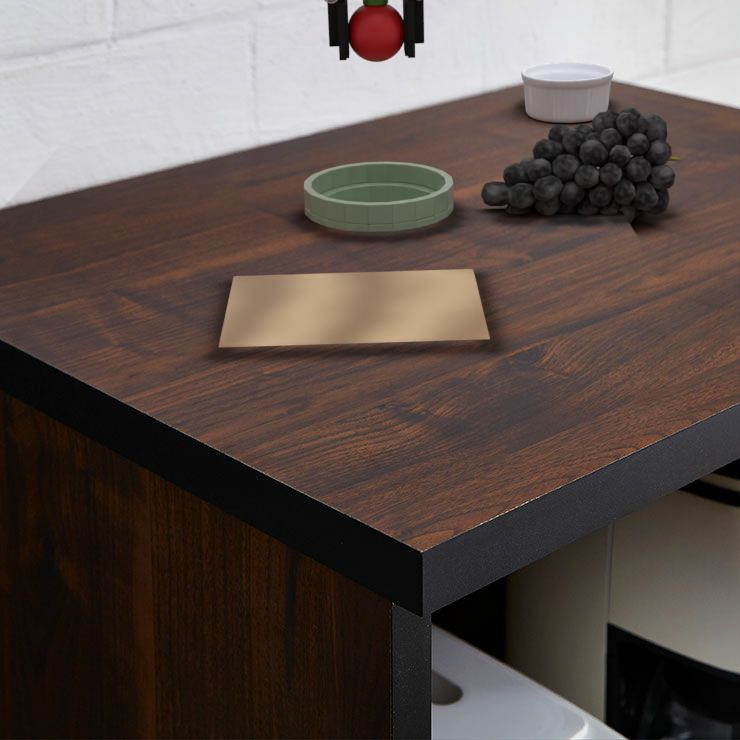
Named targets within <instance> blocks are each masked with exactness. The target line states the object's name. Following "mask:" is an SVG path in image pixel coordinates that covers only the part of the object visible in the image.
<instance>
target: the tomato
mask: <svg viewBox="0 0 740 740" xmlns="http://www.w3.org/2000/svg"><path fill="white" fill-rule="evenodd" d="M348 34H349V47H350V48H351V50H352V51H353V52H354V53H355V54H356V55H357V56H358V57H359V58H361V59H362V60H365V61H368V62H372V63H381V62H385V61H388V60H390V59H392V58H393V57H394V56H396V55H397V54H398V53H399V51H400V50H401V49H402V47H403V46H404V38H405V36H404V21H403V16H402V15H401V13H400V12H399V11H398V10H397V9H396V8H395V7H393V5H391V4H389V0H362V5H361V6H359V7H357V8H356V9H355V10H354V12H353V13H352V15H350V17H349V19H348Z"/></svg>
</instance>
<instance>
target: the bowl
mask: <svg viewBox="0 0 740 740" xmlns="http://www.w3.org/2000/svg"><path fill="white" fill-rule="evenodd" d="M454 184H455V183H454V180H453V176H452V175H450V174H448V173H447V172H446V171H444V170H442V169H439V168H436V167H433V166H430V165H425V164H417V163H414V162H402V161H401V162H400V161H365V162H356V163H349V164H347V163H346V164H342V165H337V166H333V167H329V168H325V169H322V170H320V171H318V172H315V173H313V174H311V175H310V176H309V177H308V178H306V179H305V180H304V182H303V203H304V204H303V206H304V215H305V216H306V217H307V218H308V219H309V220H310V221H311V222H313V223H316V224H317V225H318V224H319V225H321V226H323V227H326V228H331V229H337V230H341V231H350V232H361V233H383V232H388V233H389V232H397V231H407V230H412V229H418V228H423V227H425V226H429V225H433V224H434V225H435V224H436V223H438V222H441V221H443V220H444V219H447V218H448V217H449V216H450V215H451V214H452V212H453V211H454V205H455V204H454V201H455V200H454V199H455V195H454V193H455V192H454V188H455V187H454Z"/></svg>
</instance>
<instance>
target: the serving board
mask: <svg viewBox="0 0 740 740" xmlns="http://www.w3.org/2000/svg"><path fill="white" fill-rule="evenodd" d="M487 324H488V323H487V320H486V315H485V311H484V308H483V303H482V300H481V294H480V291H479V286H478V283H477V279H476V274H475V270H474V269H473V268H459V269H458V268H456V269H455V268H454V269H427V270H425V269H424V270H395V271H393V270H392V271H391V270H390V271H362V272H361V271H359V272H358V271H357V272H327V273H326V272H325V273H323V272H322V273H294V274H263V275H234V276H232V281H231V286H230V291H229V295H228V300H227V305H226V310H225V314H224V320H223V323H222V328H221V332H220V337H219V341H218V342H219V343H218V348H220V349H221V348H249V347H253V348H254V347H282V346H283V347H284V346H315V345H345V344H346V345H349V344H351V345H353V344H380V343H381V344H382V343H415V342H417V343H418V342H445V341H446V342H447V341H478V340H479V341H481V340H482V341H483V340H491V337H490V332H489V329H488V325H487Z"/></svg>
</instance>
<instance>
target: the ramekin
mask: <svg viewBox="0 0 740 740" xmlns="http://www.w3.org/2000/svg"><path fill="white" fill-rule="evenodd" d="M614 73H615V71H614V69H613V67H611V66H608V65H606V64H602V63H596V62H587V61H586V62H585V61H553V62H543V63H537V64H532V65H529V66H526V67H524V68H523V69H522V70H521V72H520V74H521V80H522V81H523V91H524V92H523V93H524V94H523V95H524V105H525V106H524V107H525V113H526V115H528V117H530V118H532V119H534V120H537V121H541V122H547V123H556V124H575V123H576V124H577V123H586V122H592V120H593V118H594V117H595V116H596V115H597V114H598V113H599V112H605V111H607V110H609V102H610V94H611V85H612V80H613V78H614Z"/></svg>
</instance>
